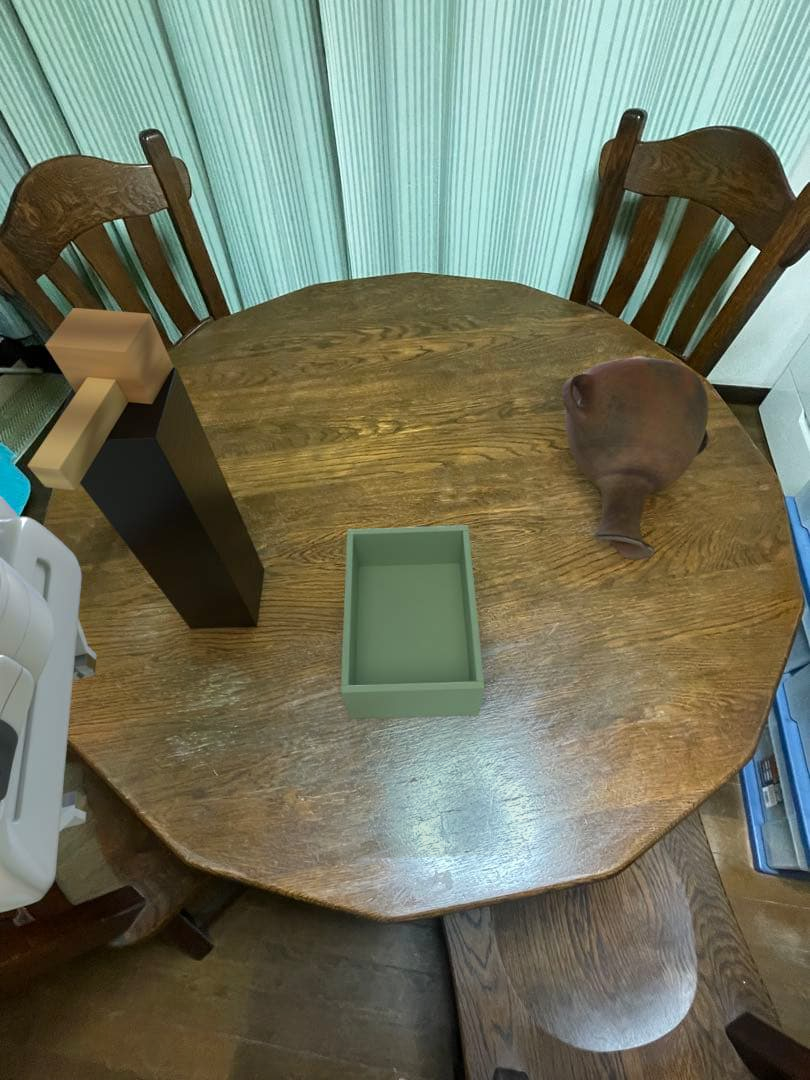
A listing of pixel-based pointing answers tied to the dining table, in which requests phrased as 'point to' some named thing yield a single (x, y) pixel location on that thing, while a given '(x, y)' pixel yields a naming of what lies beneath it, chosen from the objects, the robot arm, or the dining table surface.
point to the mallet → (98, 386)
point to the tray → (410, 624)
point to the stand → (177, 510)
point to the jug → (634, 437)
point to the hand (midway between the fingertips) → (80, 735)
